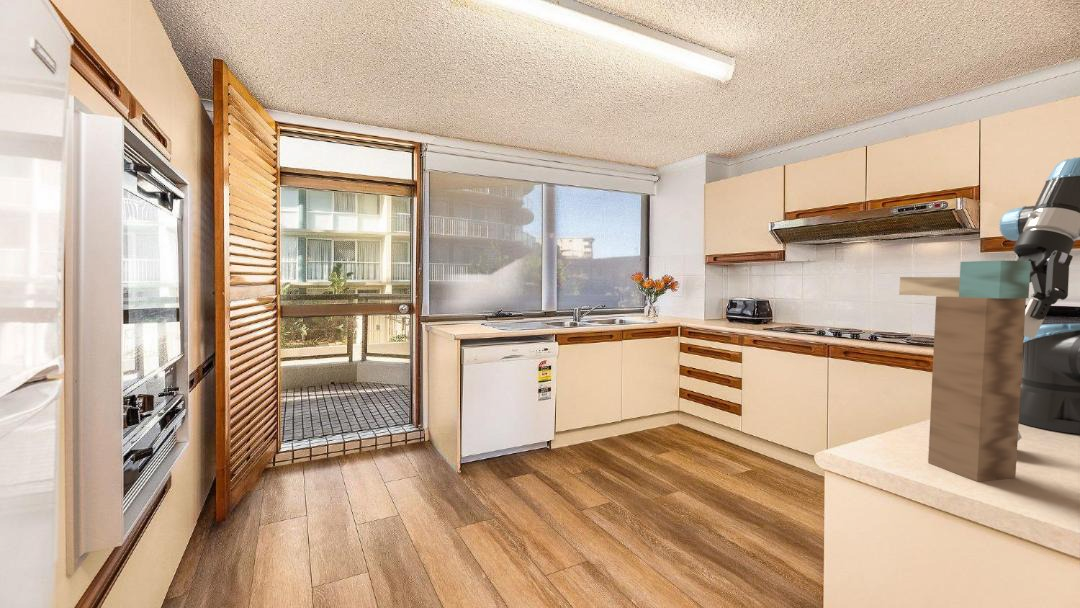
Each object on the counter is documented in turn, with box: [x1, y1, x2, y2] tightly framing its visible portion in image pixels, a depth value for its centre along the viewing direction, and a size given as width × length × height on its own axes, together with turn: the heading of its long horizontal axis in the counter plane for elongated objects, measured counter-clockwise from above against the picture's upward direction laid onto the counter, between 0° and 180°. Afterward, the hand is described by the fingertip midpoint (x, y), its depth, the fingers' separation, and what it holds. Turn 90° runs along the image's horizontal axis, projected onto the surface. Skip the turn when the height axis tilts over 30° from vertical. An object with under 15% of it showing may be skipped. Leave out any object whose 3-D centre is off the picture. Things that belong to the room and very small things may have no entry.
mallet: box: [898, 260, 1031, 299], centre depth 84 cm, size 6×18×6 cm, turn 11°
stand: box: [927, 296, 1027, 482], centre depth 81 cm, size 8×8×30 cm
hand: (997, 336), depth 91 cm, fingers open, 13 cm apart
